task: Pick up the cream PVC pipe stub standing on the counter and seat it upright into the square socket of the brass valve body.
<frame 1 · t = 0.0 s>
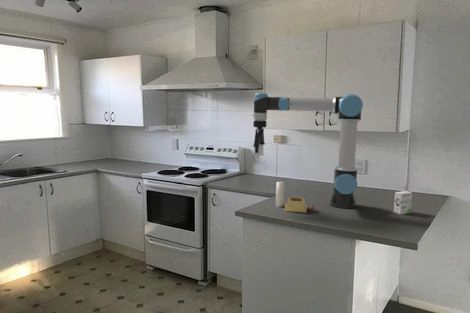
hand: (258, 157, 217), 28 cm above the worktop, fingers open, 13 cm apart
ink box: (402, 213, 209), on the worktop
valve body: (295, 210, 209), on the worktop
pipe stub: (279, 205, 217), on the worktop
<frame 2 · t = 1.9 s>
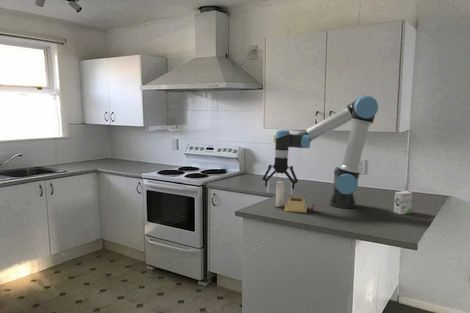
hand: (279, 193, 216), 7 cm above the worktop, fingers open, 13 cm apart
nothing on the worktop moved.
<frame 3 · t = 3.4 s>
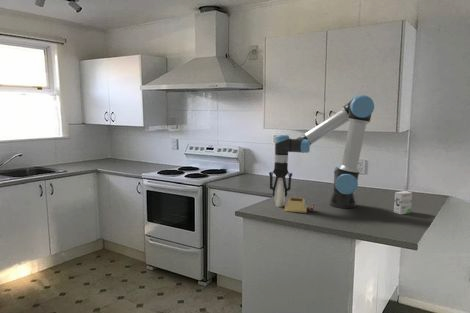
hand: (279, 201, 217), 3 cm above the worktop, fingers closed on pipe stub, 4 cm apart
pipe stub: (279, 205, 217), on the worktop, touching gripper
everything else where it was.
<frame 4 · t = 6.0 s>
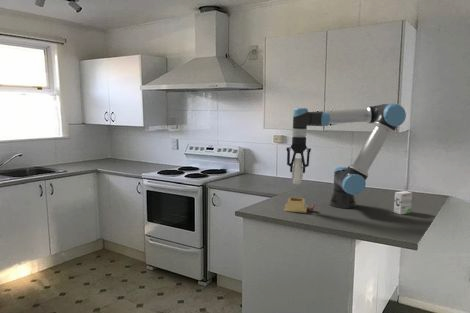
hand: (297, 178, 206), 18 cm above the worktop, fingers closed on pipe stub, 4 cm apart
pipe stub: (296, 183, 207), point 15 cm above the worktop, touching gripper
everything else where it was.
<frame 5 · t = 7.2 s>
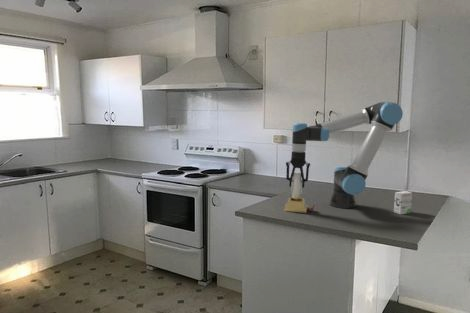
hand: (296, 192, 207), 10 cm above the worktop, fingers closed on pipe stub, 4 cm apart
pipe stub: (296, 198, 208), point 7 cm above the worktop, touching gripper
everything else where it was.
when the fingers open (7 cm above the worktop, at t = 8.5 s): pipe stub stays where it is, resting on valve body.
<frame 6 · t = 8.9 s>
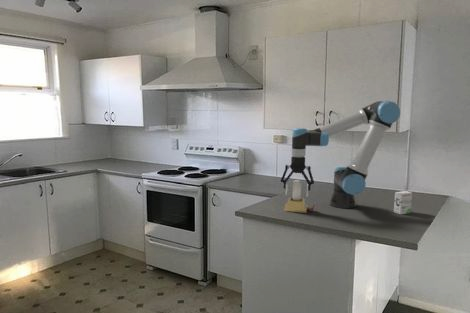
hand: (296, 195, 208), 8 cm above the worktop, fingers open, 11 cm apart
pipe stub: (296, 205, 208), point 3 cm above the worktop, touching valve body
everything else where it was.
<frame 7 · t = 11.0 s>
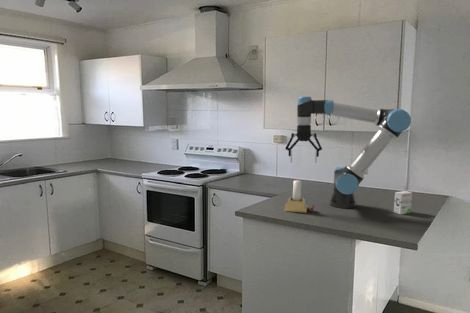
hand: (303, 162, 210), 26 cm above the worktop, fingers open, 13 cm apart
nothing on the worktop moved.
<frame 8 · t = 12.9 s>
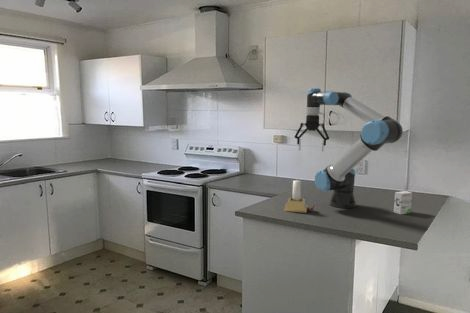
hand: (311, 150, 222), 32 cm above the worktop, fingers open, 13 cm apart
nothing on the worktop moved.
at the end: pipe stub 0.0 cm off-centre on the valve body, point 2.5 cm above the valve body's base; pipe stub tilted 1°; the gripper is holding nothing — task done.
